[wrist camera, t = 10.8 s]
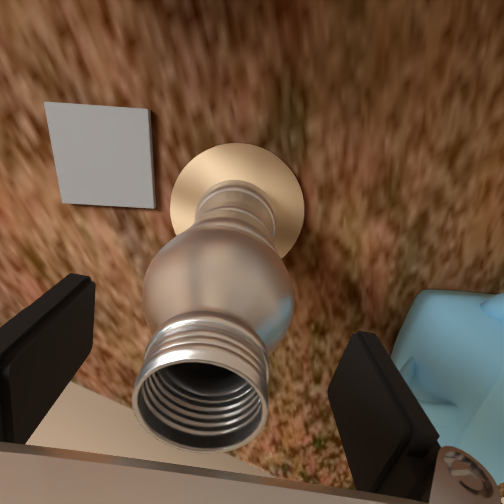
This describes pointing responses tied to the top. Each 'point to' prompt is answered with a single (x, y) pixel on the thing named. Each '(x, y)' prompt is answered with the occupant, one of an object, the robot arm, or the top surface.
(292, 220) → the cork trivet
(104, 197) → the slate coaster
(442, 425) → the teapot
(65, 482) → the robot arm
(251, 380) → the silver metal bottle
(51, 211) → the top surface
